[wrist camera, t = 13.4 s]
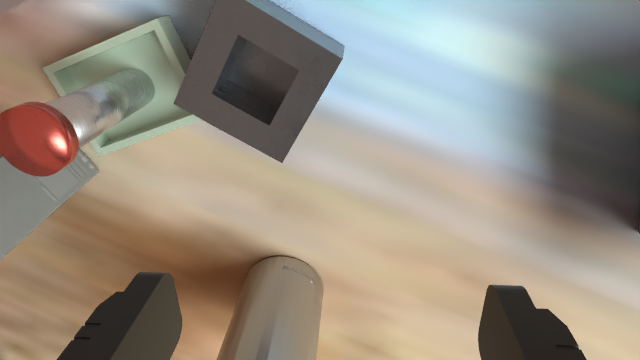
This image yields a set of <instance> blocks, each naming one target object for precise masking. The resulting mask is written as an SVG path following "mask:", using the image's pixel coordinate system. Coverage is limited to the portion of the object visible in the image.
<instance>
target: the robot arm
mask: <svg viewBox="0 0 640 360" xmlns="http://www.w3.org/2000/svg"><path fill="white" fill-rule="evenodd" d="M322 298H323V284H322V282H321V279H320V277H319V276H318V274H317V273H316V271H315V270H314V269H312V268H311V267H310V266H309V265H307V264H306V263H304V262H302V261H300V260H297V259H295V258H290V257H281V256H277V257H270V258H267V259H264V260H262V261H260V262H258V263H257V264H255V265H254V266H253V267H252V268H251V269H250V271H249V273H248V274H247V277H246V280H245V282H244V285H243V288H242V291H241V294H240V296H239V299H238V302H237V304H236V307H235V310H234V313H233V315H232V318H231V321H230V324H229V327H228V329H227V332H226V335H225V338H224V341H223V343H222V346H221V349H220V352H219V355H218V357H217V360H316V357H317V347H318V337H319V327H320V318H321V308H322ZM181 329H182V316H181V312H180V307H179V303H178V298H177V294H176V290H175V285H174V281H173V278H172V276H171V274H169V273H149V272H140V273H138V274H137V275H136V276H135V277H134V279H133V280H132V281H131V283H130V284H129V286H128V287H127V288H126V290H125V291H124V292H116V293H115V294H113V295H112V296H111V297H109V298H108V299H107V300H105V301H104V302H103V303H101V304H100V305H99V306H98V307H97V308H96V309H95V310H94V312H93V313H92V314H91V316H90V317H89V318H88V320H87V321H86V322H85V326H82V327H81V329H80V330H79V331H78V333H77V334H76V335H75V337H74V340H73V341H71V342H70V343H69V344H68V346H67V347H66V348H65V350H64V351H63V352H62V353H61V355H60V356H59V357H58V359H57V360H170V358H171V356H172V354H173V352H174V350H175V347H176V345H177V343H178V341H179V338H180V335H181ZM478 343H479V351H480V356H481V359H482V360H587V359H586V358H585V356H584V354H583V353H582V351H581V350H579V348H578V344H577V342H576V341H575V339H574V337H573V336H572V334H571V332H570V331H569V329H568V327H567V326H566V325H565V324H564V323H563V322H562V321H561V320H560V319H558V318H557V317H556V316H555V315H554V314H553V313H552V312H551V311H550V310H548V309H536V308H535V306H534V304H533V302H532V300H531V298H530V296H529V295H528V293H527V291H526V289H525V288H524V287H523V286H508V285H489V286H488V288H487V292H486V296H485V301H484V306H483V311H482V316H481V321H480V326H479V333H478Z"/></svg>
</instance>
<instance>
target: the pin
mask: <svg viewBox="0 0 640 360" xmlns="http://www.w3.org/2000/svg"><path fill="white" fill-rule="evenodd" d="M154 95H155V87H154V84H153V82H152V80H151V78H150V77H149V76H148V75H147V74H146V73H145V72H143V71H142V70H140V69H136V68H128V69H125V70H122V71H120V72H118V73H115V74H113V75H111V76H108V77H106V78H104V79H101V80H99V81H97V82H94V83H92V84H90V85H87V86H85V87H83V88H80V89H78V90H76V91H73V92H71V93H68V94H66V95H64V96H61V97H59V98H57V99H54V100H52V101H50V102H47V103H45V104H44V103H40V102H27V103H24V104H21V105H18V106H16V107H13V108H11V109H8V110H6V111H4V112H2V113H1V114H0V153H1V154H2V156H3V157H4V158H5V159H6V160H7V161H8V162H9V163H10V164H11V165H12V166H14V167H15V168H17V169H18V170H20V171H22V172H24V173H26V174H29V175H33V176H40V177H44V176H50V175H53V174H55V173H57V172H58V171H60V170H61V169H63V168H64V167H66V166H67V165H69V164H70V163H71V162H72V161H73V160H74V159H75V158H76V156H77V154H78V150H79V148H80V147H82V146H84V145H85V144H87V143H88V142H90V141H91V140H93V139H94V138H96V137H98V136H99V135H101V134H102V133H104V132H105V131H107V130H108V129H110V128H112V127H113V126H115V125H116V124H118V123H119V122H121V121H122V120H124V119H126V118H127V117H129V116H130V115H132V114H133V113H135V112H136V111H138V110H140V109H141V108H143V107H144V106H146V105H147V104H149V103H150V102H151V101H152V100H153V98H154Z"/></svg>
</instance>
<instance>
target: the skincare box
mask: <svg viewBox="0 0 640 360" xmlns="http://www.w3.org/2000/svg"><path fill="white" fill-rule="evenodd" d="M98 171H99V169H98V168H97V167H96V166H95V165H94V164H93V163H92V161H91V160H90V159H89V158H88V157H87V156H86V155H85V154H84V153H83V152H82V151H81V150H80V149H79V150H78V154H77V156H76V158H75V159H74V160H73V161H72V162H71V163H70V164H69V165H67V166H66V167H64V168H63V169H61V170H60V171H58V172H57V173H55V174H53V175H50V176H44V177H40V176H33V175H29V174H26V173H24V172H22V171H20V170H18V169H17V168H15V167H14V166H12V165H11V164H10V163H9V162H8V161H7V160H6V159H5V158H4V157H3V156H0V259H2V258H3V257H4V256H5V255H6V254H7V253H8V252H9V251H11V250H12V249H13V248H14V247H15V246H16V245H17V244H18V243H20V242H21V241H22V240H23V239H24V238H25V237H26V236H27V235H28V234H30V233H31V232H32V231H33V230H34V229H35V228H36V227H37V226H38V225H40V224H41V223H42V222H43V221H44V220H45V219H46V218H47V217H48V216H50V215H51V214H52V213H53V212H54V211H55V210H56V209H57V208H58V207H60V206H61V205H62V204H63V203H64V202H65V201H66V200H67V199H68V198H70V197H71V196H72V195H73V194H74V193H75V192H76V191H77V190H78V189H80V188H81V187H82V186H83V185H84V184H85V183H86V182H87V181H89V180H90V179H91V178H92V177H93V176H94V175H95V174H96V173H98Z"/></svg>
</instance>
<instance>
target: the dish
mask: <svg viewBox="0 0 640 360" xmlns="http://www.w3.org/2000/svg"><path fill="white" fill-rule="evenodd" d="M190 62H191V59H190V57H189V55H188V53H187V51H186V49H185V47H184V45H183V43H182V41H181V39H180V37H179V35H178V33H177V31H176V29H175V26H174V24H173V22H172V20H171V18H170V16H165V17H161V18H157V19H154V20H152V21H150V22H147V23H145V24H143V25H140V26H138V27H136V28H133V29H131V30H129V31H126V32H124V33H122V34H120V35H117V36H115V37H113V38H110V39H108V40H106V41H103V42H101V43H99V44H96V45H94V46H92V47H89V48H87V49H85V50H82V51H80V52H78V53H75V54H73V55H71V56H68V57H66V58H64V59H61V60H59V61H57V62H54V63H52V64H50V65H47V66H45V67H43V68H42V69H43V70H44V72H45V73H46V75H47V76H48V78H49V80H50V81H51V83H52V84H53V86H54V87H55V89H56V91H57V92H58V94H59V95H60V97H61V96H64V95H66V94H68V93H71V92H73V91H76V90H78V89H80V88H83V87H85V86H87V85H90V84H92V83H94V82H97V81H99V80H101V79H104V78H106V77H108V76H111V75H113V74H115V73H118V72H120V71H122V70H125V69H128V68H136V69H140V70H142V71H143V72H145V73H146V74H147V75H148V76H149V77H150V78H151V80H152V82H153V84H154V87H155V95H154V98H153V100H152V101H151V102H150V103H149V104H147V105H146V106H144V107H143V108H141V109H140V110H138V111H136V112H135V113H133V114H132V115H130V116H129V117H127V118H126V119H124V120H122V121H121V122H119V123H118V124H116V125H115V126H113V127H112V128H110V129H108V130H107V131H105V132H104V133H102V134H101V135H99V136H98V137H96V138H94V139H93V140H91V141H90V144H91V146H92V147H93V149H94V150H95V152H96V153H97V155H98V157H99V156H101V155H104V154H107V153H110V152H113V151H115V150H118V149H121V148H124V147H127V146H129V145H132V144H135V143H138V142H141V141H143V140H146V139H149V138H152V137H155V136H157V135H160V134H163V133H166V132H168V131H171V130H174V129H177V128H180V127H182V126H185V125H188V124H191V123H194V122H196V121H199V120H202V119H200V118H198V117H196V116H195V115H193V114H191V113H189V112H187V111H185V110H183V109H182V108H180V107H178V106H176V105H174V104H173V103H174V101H175V99H176V96H177V94H178V91H179V89H180V86H181V84H182V82H183V79H184V77H185V74H186V72H187V69H188V67H189V65H190Z"/></svg>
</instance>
